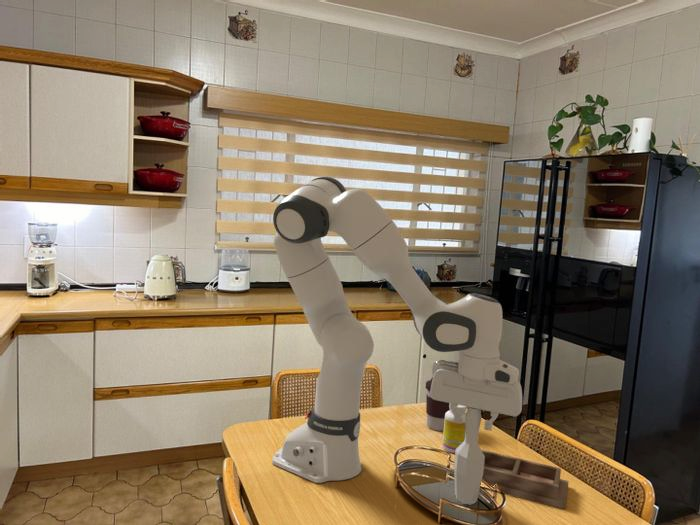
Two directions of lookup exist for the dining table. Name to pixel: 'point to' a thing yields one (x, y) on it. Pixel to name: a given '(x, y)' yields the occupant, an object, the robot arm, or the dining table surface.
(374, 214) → the robot arm
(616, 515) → the dining table surface
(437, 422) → the coffee cup
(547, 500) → the slot rack
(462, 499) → the low poly bottle
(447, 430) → the supplement bottle
